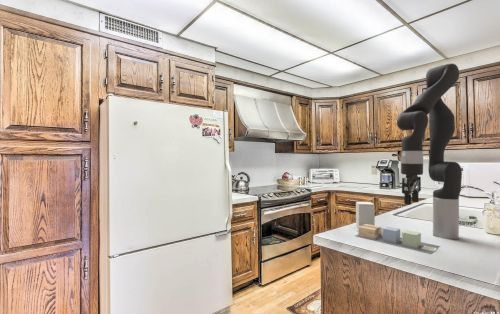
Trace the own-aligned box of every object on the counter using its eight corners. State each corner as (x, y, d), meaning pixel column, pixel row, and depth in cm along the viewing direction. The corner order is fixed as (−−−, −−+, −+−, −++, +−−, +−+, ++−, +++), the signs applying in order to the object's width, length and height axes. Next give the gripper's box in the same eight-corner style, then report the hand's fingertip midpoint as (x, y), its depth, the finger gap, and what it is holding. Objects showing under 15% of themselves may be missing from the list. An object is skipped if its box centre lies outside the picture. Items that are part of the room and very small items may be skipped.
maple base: (365, 232, 123) (365, 223, 123) (381, 235, 117) (381, 226, 117) (358, 235, 118) (358, 226, 118) (374, 239, 113) (374, 229, 113)
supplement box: (374, 230, 127) (375, 204, 126) (358, 230, 128) (358, 203, 128) (371, 226, 134) (371, 201, 134) (355, 226, 135) (355, 201, 135)
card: (424, 246, 104) (424, 245, 104) (436, 249, 101) (436, 248, 101) (421, 248, 101) (421, 247, 101) (433, 251, 98) (433, 250, 98)
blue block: (387, 237, 114) (387, 226, 114) (400, 240, 111) (400, 228, 111) (382, 240, 111) (382, 228, 111) (395, 243, 107) (395, 231, 107)
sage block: (406, 242, 109) (406, 230, 109) (420, 245, 105) (420, 232, 105) (402, 244, 106) (402, 232, 106) (416, 248, 102) (416, 235, 102)
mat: (366, 231, 126) (366, 230, 126) (440, 247, 104) (440, 246, 104) (354, 236, 117) (354, 235, 117) (431, 255, 96) (431, 254, 96)
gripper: (416, 163, 98) (416, 207, 98) (428, 162, 107) (427, 202, 107) (394, 162, 103) (394, 204, 103) (407, 162, 113) (407, 200, 113)
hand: (411, 203), depth 105 cm, fingers open, 8 cm apart
